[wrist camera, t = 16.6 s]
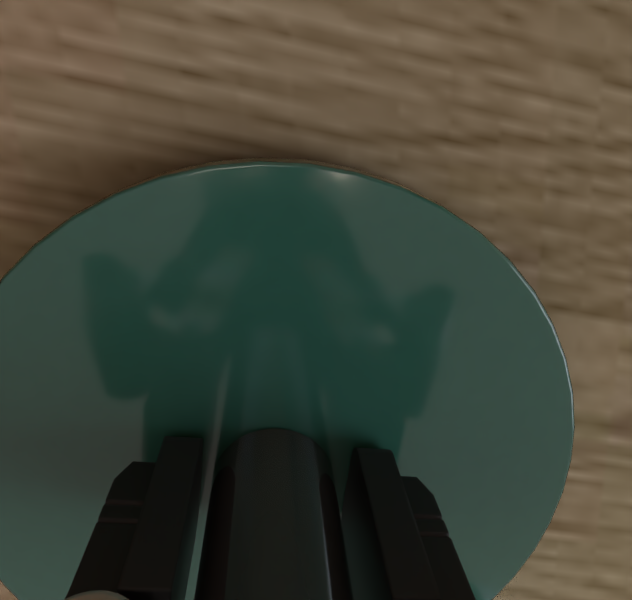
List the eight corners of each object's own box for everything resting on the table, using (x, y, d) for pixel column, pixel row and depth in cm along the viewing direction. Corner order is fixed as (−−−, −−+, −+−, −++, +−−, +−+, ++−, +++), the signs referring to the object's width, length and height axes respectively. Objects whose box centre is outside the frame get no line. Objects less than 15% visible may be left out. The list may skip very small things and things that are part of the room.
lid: (621, 192, 11) (1020, 308, 5) (480, 649, 15) (609, 996, 9) (-57, 113, 9) (-571, 148, 4) (-2, 640, 14) (-203, 1042, 8)
